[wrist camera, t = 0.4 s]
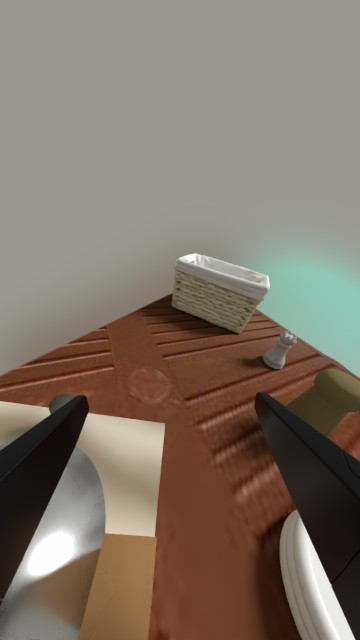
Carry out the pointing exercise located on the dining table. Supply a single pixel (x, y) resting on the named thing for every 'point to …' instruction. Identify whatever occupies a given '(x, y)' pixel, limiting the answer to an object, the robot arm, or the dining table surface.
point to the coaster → (309, 586)
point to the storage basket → (217, 290)
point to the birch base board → (108, 460)
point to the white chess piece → (279, 351)
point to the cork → (328, 400)
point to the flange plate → (80, 570)
